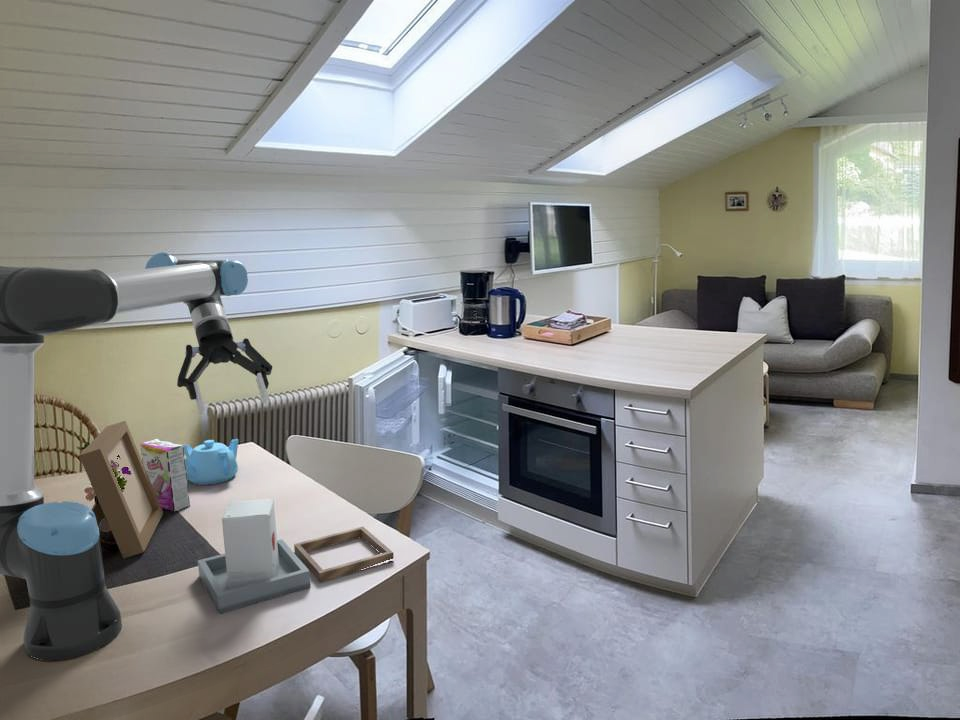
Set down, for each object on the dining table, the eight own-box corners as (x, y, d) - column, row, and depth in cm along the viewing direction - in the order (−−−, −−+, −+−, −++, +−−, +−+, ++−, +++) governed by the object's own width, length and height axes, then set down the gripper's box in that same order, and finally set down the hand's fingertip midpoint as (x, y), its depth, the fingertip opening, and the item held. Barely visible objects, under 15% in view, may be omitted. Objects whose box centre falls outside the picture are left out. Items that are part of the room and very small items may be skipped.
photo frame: (163, 516, 185) (150, 418, 180) (144, 556, 164) (128, 446, 159) (98, 524, 182) (83, 424, 177) (70, 565, 161) (52, 453, 156)
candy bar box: (146, 504, 193) (138, 443, 190) (163, 498, 197) (156, 437, 194) (173, 513, 187) (166, 449, 184) (191, 506, 191) (184, 444, 188)
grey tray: (219, 613, 140) (217, 596, 139) (199, 576, 154) (197, 560, 153) (310, 587, 148) (309, 570, 148) (283, 554, 163) (282, 539, 162)
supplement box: (275, 587, 147) (269, 514, 144) (227, 591, 146) (220, 518, 143) (280, 565, 156) (274, 497, 153) (235, 569, 154) (228, 500, 151)
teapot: (179, 490, 202) (175, 452, 200) (185, 472, 217) (181, 436, 214) (239, 484, 206) (235, 446, 204) (241, 466, 220) (237, 430, 218)
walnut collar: (320, 582, 150) (319, 573, 150) (294, 552, 164) (294, 544, 163) (393, 561, 158) (393, 552, 158) (363, 534, 172) (362, 526, 171)
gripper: (264, 331, 182) (288, 405, 172) (152, 344, 169) (172, 424, 159) (268, 312, 176) (294, 387, 167) (154, 323, 163) (174, 405, 154)
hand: (234, 405), depth 163 cm, fingers open, 13 cm apart
